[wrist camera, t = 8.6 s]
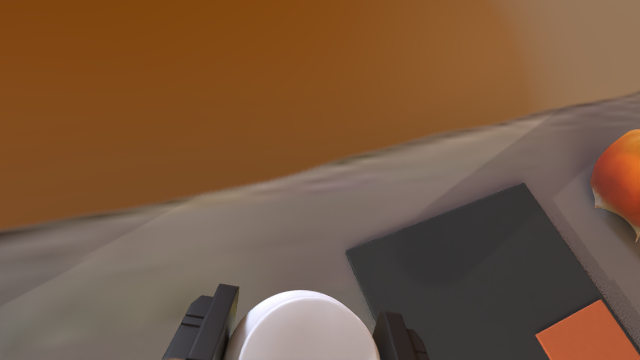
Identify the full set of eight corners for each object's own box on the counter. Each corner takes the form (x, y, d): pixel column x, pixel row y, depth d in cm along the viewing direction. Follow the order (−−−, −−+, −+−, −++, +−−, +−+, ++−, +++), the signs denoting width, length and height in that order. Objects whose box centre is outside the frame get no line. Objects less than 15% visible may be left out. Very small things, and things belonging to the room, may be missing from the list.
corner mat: (344, 252, 24) (346, 249, 24) (521, 184, 29) (525, 181, 28) (469, 536, 18) (475, 541, 18) (666, 395, 23) (675, 396, 22)
